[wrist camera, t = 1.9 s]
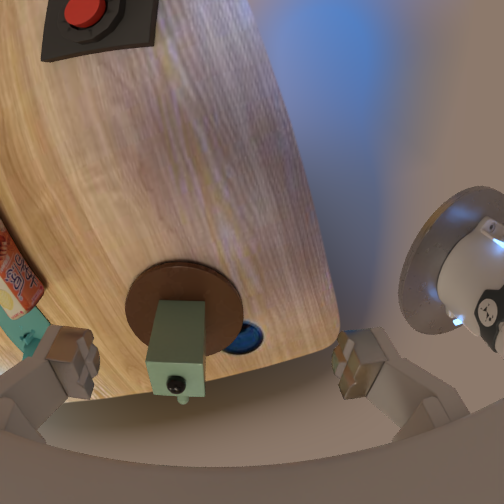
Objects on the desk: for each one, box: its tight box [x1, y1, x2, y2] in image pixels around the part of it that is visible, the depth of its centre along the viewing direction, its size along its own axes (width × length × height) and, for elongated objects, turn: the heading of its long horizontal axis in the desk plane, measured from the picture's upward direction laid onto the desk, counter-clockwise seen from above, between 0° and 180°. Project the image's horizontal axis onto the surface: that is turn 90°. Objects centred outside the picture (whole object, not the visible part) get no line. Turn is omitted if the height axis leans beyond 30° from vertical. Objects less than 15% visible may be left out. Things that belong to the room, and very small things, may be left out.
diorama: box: [0, 305, 51, 360], centre depth 34 cm, size 12×20×9 cm, turn 18°
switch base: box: [41, 0, 159, 62], centre depth 19 cm, size 12×8×4 cm, turn 86°
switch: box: [64, 0, 106, 28], centre depth 17 cm, size 4×4×2 cm
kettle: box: [125, 262, 243, 404], centre depth 32 cm, size 15×15×12 cm
